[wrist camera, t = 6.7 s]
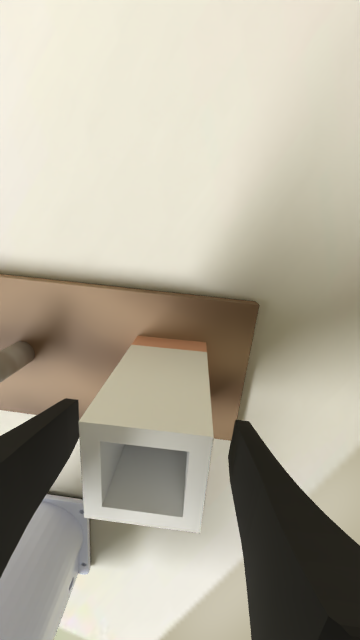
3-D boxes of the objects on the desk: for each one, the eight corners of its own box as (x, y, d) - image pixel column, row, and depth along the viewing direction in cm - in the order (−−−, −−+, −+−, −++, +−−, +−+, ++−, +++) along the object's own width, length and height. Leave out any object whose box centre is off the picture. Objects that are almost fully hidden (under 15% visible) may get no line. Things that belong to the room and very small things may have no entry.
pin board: (230, 430, 18) (240, 487, 14) (-24, 397, 19) (-88, 441, 15) (255, 301, 15) (277, 322, 11) (-46, 269, 16) (-134, 277, 12)
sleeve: (206, 342, 15) (213, 436, 8) (199, 401, 17) (199, 533, 9) (137, 335, 16) (78, 421, 8) (136, 394, 17) (84, 517, 9)
